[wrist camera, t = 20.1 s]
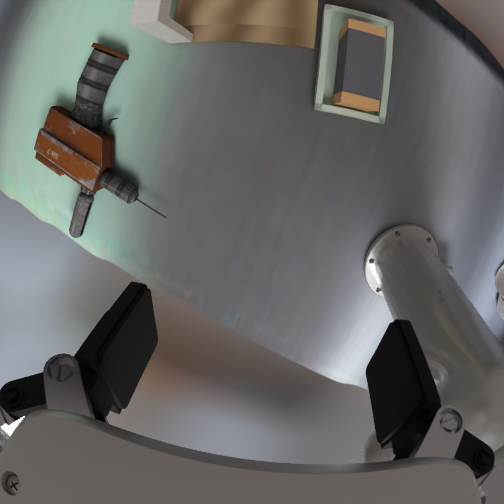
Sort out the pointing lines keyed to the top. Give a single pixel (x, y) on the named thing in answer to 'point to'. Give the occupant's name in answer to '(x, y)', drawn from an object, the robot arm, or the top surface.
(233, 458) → the robot arm
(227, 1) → the holder
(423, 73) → the top surface
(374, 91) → the block
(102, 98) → the tool
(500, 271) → the spread jar
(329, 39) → the tray
